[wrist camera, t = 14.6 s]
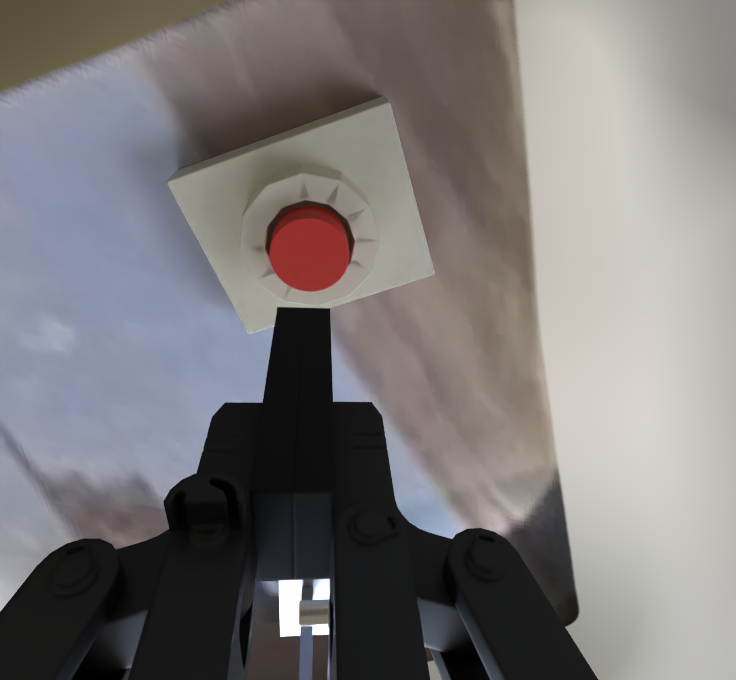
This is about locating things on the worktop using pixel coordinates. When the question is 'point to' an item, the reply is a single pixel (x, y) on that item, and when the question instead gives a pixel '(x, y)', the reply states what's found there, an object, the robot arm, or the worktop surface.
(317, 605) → the metal lever
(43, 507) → the worktop surface
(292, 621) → the press bracket
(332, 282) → the stop button
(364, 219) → the button block
